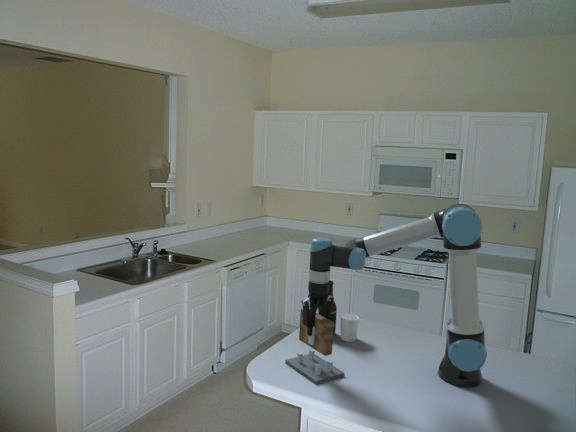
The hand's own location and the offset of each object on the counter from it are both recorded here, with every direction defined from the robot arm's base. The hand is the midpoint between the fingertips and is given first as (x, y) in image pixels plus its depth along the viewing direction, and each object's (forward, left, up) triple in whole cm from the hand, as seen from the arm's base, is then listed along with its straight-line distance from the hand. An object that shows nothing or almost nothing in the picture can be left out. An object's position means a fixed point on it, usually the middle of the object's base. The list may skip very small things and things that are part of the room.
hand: (315, 342), depth 180 cm
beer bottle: (+25, -26, -11) cm, 37 cm away
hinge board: (0, 0, -10) cm, 10 cm away
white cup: (+16, -31, -11) cm, 36 cm away
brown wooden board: (0, 0, -2) cm, 2 cm away
